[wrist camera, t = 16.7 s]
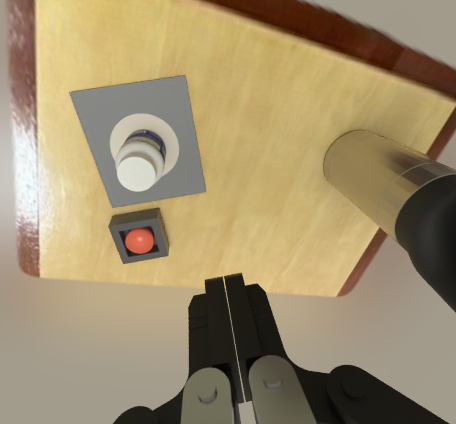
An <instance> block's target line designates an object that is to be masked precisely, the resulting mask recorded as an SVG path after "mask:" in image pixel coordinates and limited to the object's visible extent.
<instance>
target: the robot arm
mask: <svg viewBox="0 0 456 424" xmlns="http://www.w3.org/2000/svg"><path fill="white" fill-rule="evenodd" d="M324 173H325V176H326V178H327V179H328V181H329V182H330V183H331V184H333V185H334V186H335V187H336V188H337V189H338V190H339V191H340V192H341V193H342V194H343V195H344V196H346V197H347V198H348V199H349V200H350V201H351V202H352V203H353V204H355V205H356V206H357V207H358V208H359V209H360V210H361V211H362V212H363V213H365V214H366V215H367V216H368V217H369V218H370V219H371V220H372V221H374V222H375V223H376V224H377V225H378V226H379V227H380V228H381V229H382V230H384V231H385V232H386V233H387V234H388V235H389V236H391V237H392V238H393V239H394V240H395V241H396V242H397V243H398V244H399V245H401V246H402V247H403V248H404V249H405V250H406V251H407V252H408V254H409V256H410V259H411V261H412V263H413V265H414V267H415V268H416V270H417V272H418V273H419V274H420V275H421V276H422V278H423V279H424V280H425V281H426V282H427V283H428V284H429V285H430V286H431V287H432V288H433V289H434V290H435V291H436V292H437V293H438V294H439V295H440V296H441V297H442V298H443V300H444V301H445V302H446V303H447V304H448V305H449V306H450V307H451V308H452V309H453V310H454V311H455V312H456V170H455V169H453V168H450V167H448V166H446V165H443V164H441V163H438V162H436V161H434V160H432V159H429V157H428V155H426V154H423V153H421V152H419V151H416V150H414V149H412V148H409V147H407V146H405V145H402V144H400V143H398V142H395V141H393V140H391V139H388V138H386V137H384V136H377V135H375V134H373V133H370V132H367V131H363V130H357V131H352V132H349V133H346V134H345V135H343V136H341V137H340V138H339V139H337V140H336V141H335V142H334V143H333V144H332V146H331V147H330V148H329V150H328V152H327V154H326V157H325V160H324ZM224 279H225V285H226V291H227V297H228V302H229V308H230V314H231V320H232V326H233V332H234V338H235V344H236V350H237V356H238V362H239V367H240V372H241V378H242V383H243V388H244V394H245V399H246V402H248V401H252V404H253V410H254V415H255V420H256V424H449V423H448V422H446V421H444V420H443V419H441V418H440V417H438V416H436V415H435V414H433V413H432V412H430V411H428V410H427V409H425V408H423V407H422V406H420V405H419V404H417V403H416V402H414V401H412V400H411V399H409V398H408V397H406V396H404V395H403V394H401V393H400V392H398V391H396V390H395V389H393V388H392V387H390V386H388V385H387V384H385V383H384V382H382V381H380V380H379V379H377V378H376V377H374V376H373V375H371V374H369V373H368V372H366V371H364V370H363V369H361V368H359V367H356V366H352V365H341V366H338V367H336V368H334V369H333V370H332V371H331V372H330V373H321V372H313V371H308V370H305V369H302V368H300V367H298V366H297V365H295V364H294V363H293V362H292V361H291V360H290V359H289V358H288V356H287V354H286V352H285V350H284V347H283V344H282V341H281V338H280V335H279V332H278V328H277V325H276V322H275V319H274V317H273V314H272V311H271V307H270V305H269V301H268V298H267V295H266V292H265V291H264V290H263V289H262V288H261V287H260V286H259V285H258V284H252V285H246V286H245V284H244V280H243V276H242V273H238V274H232V275H227V276H224ZM205 291H206V293H205V294H200V295H195V296H193V298H192V300H191V303H190V305H189V307H188V310H189V311H188V313H189V375H188V379H187V381H186V384H185V386H184V387H183V389H182V390H181V391H180V392H179V394H178V395H177V396H176V397H174V398H173V399H171V400H170V401H168V402H167V403H165V404H163V405H161V406H160V407H158V408H156V409H155V410H153V411H152V410H151V409H149V408H148V407H144V406H137V407H133V408H130V409H128V410H127V411H125V412H124V413H122V414H121V415H120V416H119V417H118V418H117V419H116V420H115V422H114V423H113V424H241V421H240V414H239V407H238V404H239V403H244V399H243V393H242V387H241V381H240V375H239V368H238V362H237V356H236V350H235V345H234V338H233V332H232V326H231V320H230V314H229V308H228V303H227V298H226V292H225V287H224V281H223V276H222V277H217V278H212V279H206V280H205Z"/></svg>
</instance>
